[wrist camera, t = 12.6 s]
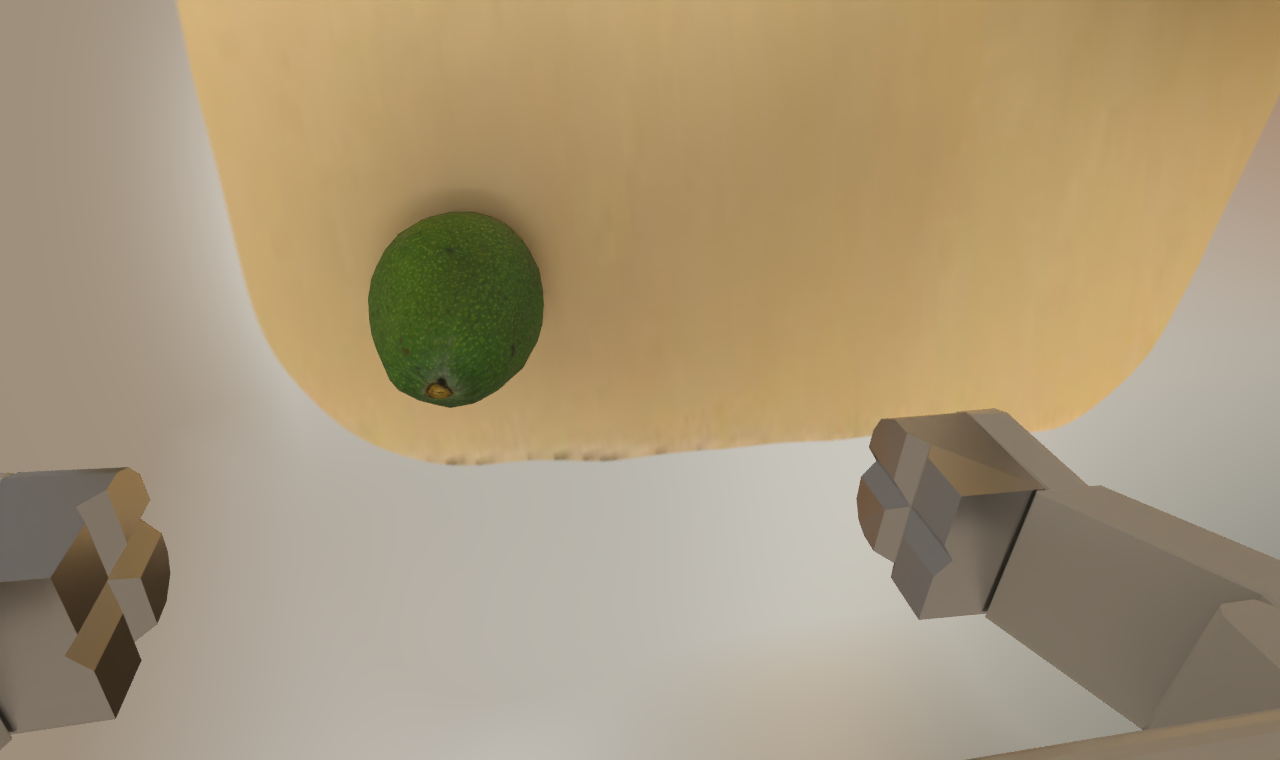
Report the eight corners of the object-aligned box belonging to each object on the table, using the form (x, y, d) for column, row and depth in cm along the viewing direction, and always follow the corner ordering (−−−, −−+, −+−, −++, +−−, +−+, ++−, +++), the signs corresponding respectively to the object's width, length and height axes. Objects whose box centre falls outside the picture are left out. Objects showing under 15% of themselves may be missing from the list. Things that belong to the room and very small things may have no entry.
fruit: (558, 301, 42) (588, 423, 32) (423, 351, 42) (409, 489, 32) (502, 164, 37) (516, 254, 27) (350, 219, 37) (308, 331, 27)
